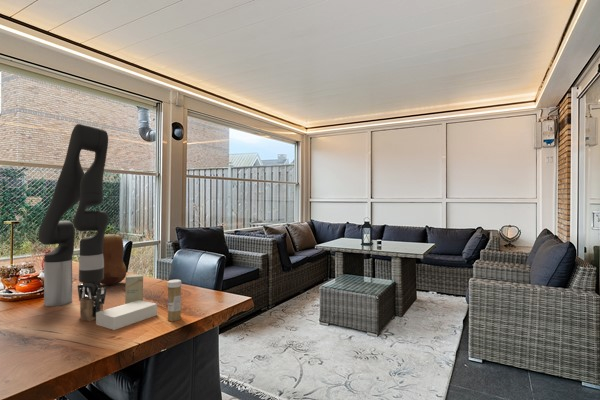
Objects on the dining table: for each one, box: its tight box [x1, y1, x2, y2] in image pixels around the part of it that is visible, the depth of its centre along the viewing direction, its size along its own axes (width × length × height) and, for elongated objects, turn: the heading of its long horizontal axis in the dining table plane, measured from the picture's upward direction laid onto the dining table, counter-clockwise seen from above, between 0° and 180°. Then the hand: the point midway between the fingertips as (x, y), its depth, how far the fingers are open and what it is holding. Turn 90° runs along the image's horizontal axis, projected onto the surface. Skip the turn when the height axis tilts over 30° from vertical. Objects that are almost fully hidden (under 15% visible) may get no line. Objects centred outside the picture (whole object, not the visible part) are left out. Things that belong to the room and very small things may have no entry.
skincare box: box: [124, 273, 144, 304], centre depth 130 cm, size 6×4×12 cm
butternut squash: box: [100, 233, 127, 286], centre depth 164 cm, size 14×13×25 cm
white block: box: [95, 300, 158, 331], centre depth 116 cm, size 10×16×4 cm, turn 151°
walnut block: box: [79, 296, 104, 322], centre depth 117 cm, size 5×5×7 cm
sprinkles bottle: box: [166, 279, 182, 322], centre depth 116 cm, size 5×5×14 cm
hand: (91, 315), depth 117 cm, fingers closed on walnut block, 5 cm apart
